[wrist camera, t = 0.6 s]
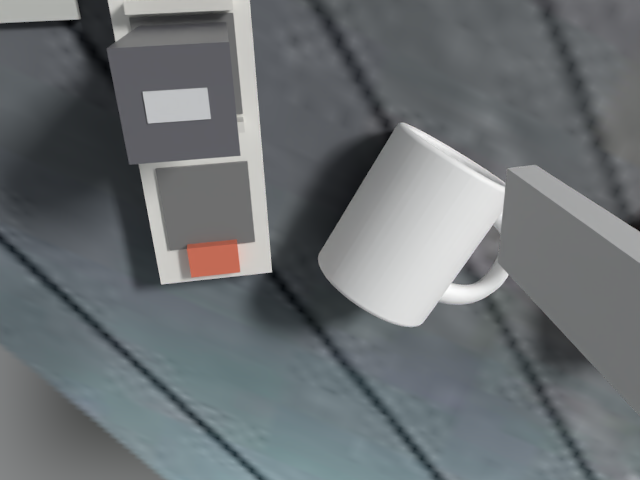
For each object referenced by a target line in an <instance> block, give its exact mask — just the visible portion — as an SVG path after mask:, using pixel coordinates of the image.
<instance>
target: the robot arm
mask: <svg viewBox="0 0 640 480" xmlns="http://www.w3.org/2000/svg"><path fill="white" fill-rule="evenodd" d="M498 263H499V265H500V266H501V267H502V268H503V269H504V270H505V271H506V272H507V273H508V274H509V275H510V276H511V278H512V279H513V280H514V281H515V282H516V283H517V284H518V285H519V286H520V287H521V288H522V289H523V290H524V292H525V293H526V294H527V295H528V296H529V297H530V298H531V299H532V300H533V301H534V302H535V303H536V304H537V306H538V307H539V308H540V309H541V310H542V311H543V312H544V313H545V314H546V315H547V316H548V317H549V319H550V320H551V321H552V322H553V323H554V324H555V325H556V326H557V327H558V328H559V329H560V330H561V331H562V333H563V334H564V335H565V336H566V337H567V338H568V339H569V340H570V341H571V342H572V343H573V344H574V345H575V347H576V348H577V349H578V350H579V351H580V352H581V353H582V354H583V355H584V356H585V357H586V358H587V360H588V361H589V362H590V363H591V364H592V365H593V366H594V367H595V368H596V369H597V370H598V371H599V372H600V374H601V375H602V376H603V377H604V378H605V379H606V380H607V381H608V382H609V383H610V384H611V385H612V387H613V388H614V389H615V390H616V391H617V392H618V393H619V394H620V395H621V396H622V397H623V398H624V399H625V401H626V402H627V403H628V404H629V405H630V406H631V407H632V408H633V409H634V410H635V411H636V412H637V413H638V415H639V416H640V232H639V231H638V230H636V229H635V228H633V227H632V226H630V225H628V224H627V223H625V222H624V221H622V220H621V219H619V218H618V217H616V216H614V215H613V214H611V213H610V212H608V211H607V210H605V209H604V208H602V207H600V206H599V205H597V204H596V203H594V202H593V201H591V200H589V199H588V198H586V197H585V196H583V195H582V194H580V193H579V192H577V191H575V190H574V189H572V188H571V187H569V186H568V185H566V184H565V183H563V182H561V181H560V180H558V179H557V178H555V177H554V176H552V175H550V174H549V173H547V172H546V171H544V170H543V169H541V168H540V167H538V166H536V165H531V166H522V167H514V168H507V175H506V185H505V195H504V204H503V214H502V224H501V234H500V244H499V254H498Z"/></svg>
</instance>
